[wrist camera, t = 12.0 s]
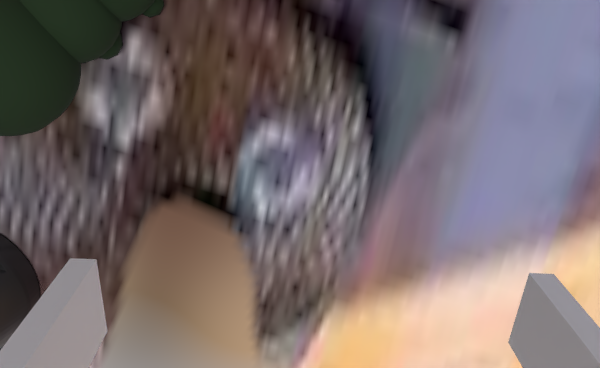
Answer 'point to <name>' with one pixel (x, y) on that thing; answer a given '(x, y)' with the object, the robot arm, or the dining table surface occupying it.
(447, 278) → the dining table surface
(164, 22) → the dining table surface
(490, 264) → the dining table surface
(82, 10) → the toy figurine
